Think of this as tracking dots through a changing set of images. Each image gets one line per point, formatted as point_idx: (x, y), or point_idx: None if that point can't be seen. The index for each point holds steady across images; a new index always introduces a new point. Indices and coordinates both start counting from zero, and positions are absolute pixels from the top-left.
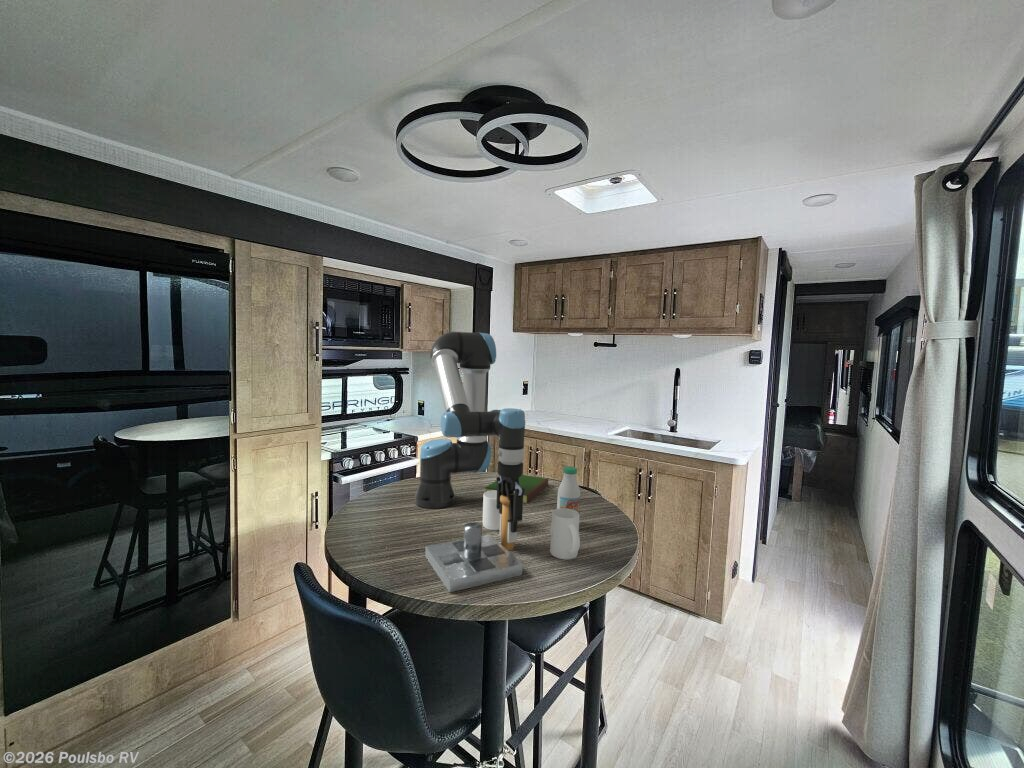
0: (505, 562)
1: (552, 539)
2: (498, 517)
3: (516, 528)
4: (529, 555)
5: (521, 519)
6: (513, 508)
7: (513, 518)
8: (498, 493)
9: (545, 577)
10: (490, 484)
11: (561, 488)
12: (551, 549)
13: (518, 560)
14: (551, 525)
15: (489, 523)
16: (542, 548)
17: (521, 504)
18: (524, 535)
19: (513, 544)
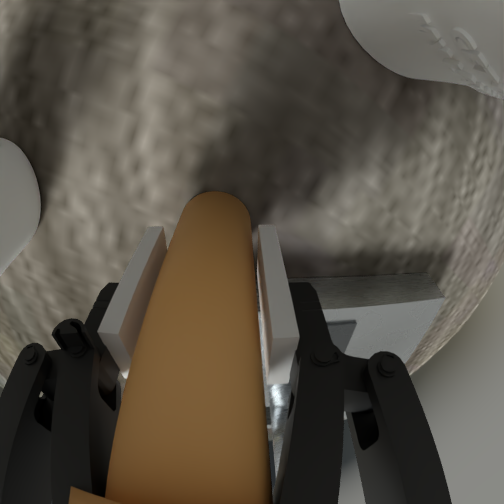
0: (401, 335)
1: (451, 78)
2: (4, 233)
3: (319, 307)
4: (348, 171)
5: (401, 367)
6: (368, 489)
7: (356, 413)
8: (50, 500)
9: (475, 218)
10: None
11: None
12: (406, 72)
13: (425, 300)
14: (490, 62)
15: (22, 248)
16: (316, 62)
17: (440, 500)
18: (115, 79)
19: (245, 217)
